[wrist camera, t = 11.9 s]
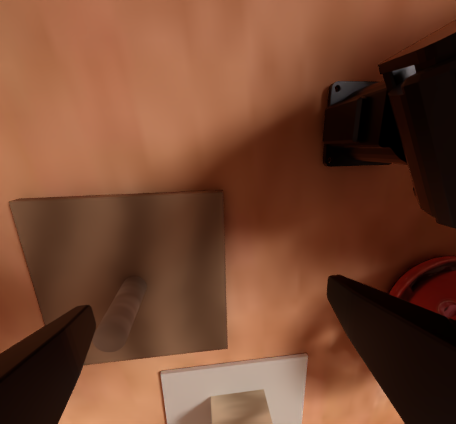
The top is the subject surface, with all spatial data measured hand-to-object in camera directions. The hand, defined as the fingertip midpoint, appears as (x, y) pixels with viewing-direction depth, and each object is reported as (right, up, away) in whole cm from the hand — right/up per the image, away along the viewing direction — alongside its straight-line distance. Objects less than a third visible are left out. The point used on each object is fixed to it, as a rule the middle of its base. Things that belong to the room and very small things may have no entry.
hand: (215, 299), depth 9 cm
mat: (+2, -20, +18) cm, 27 cm away
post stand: (-8, -3, +12) cm, 15 cm away
